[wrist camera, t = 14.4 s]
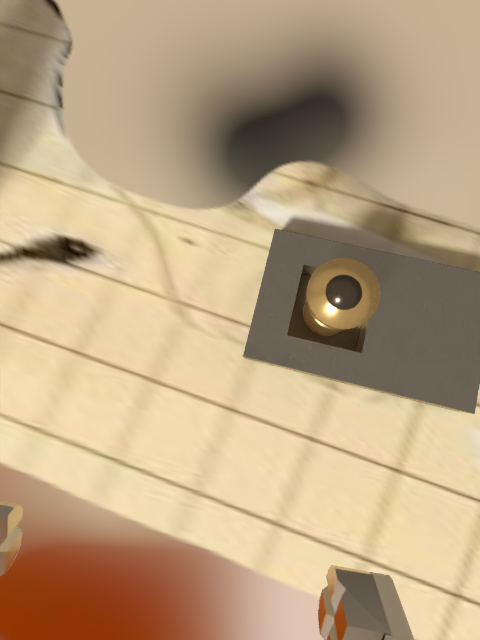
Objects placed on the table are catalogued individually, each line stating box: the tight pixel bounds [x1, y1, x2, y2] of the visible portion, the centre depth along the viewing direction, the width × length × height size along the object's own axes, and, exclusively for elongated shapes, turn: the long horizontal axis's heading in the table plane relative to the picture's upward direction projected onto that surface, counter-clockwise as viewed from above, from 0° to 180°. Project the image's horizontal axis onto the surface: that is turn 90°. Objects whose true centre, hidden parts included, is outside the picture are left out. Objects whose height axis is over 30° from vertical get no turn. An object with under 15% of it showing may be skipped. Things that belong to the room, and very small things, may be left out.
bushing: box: [303, 258, 380, 336], centre depth 30 cm, size 5×5×8 cm
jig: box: [243, 229, 480, 414], centre depth 33 cm, size 18×11×2 cm, turn 76°
